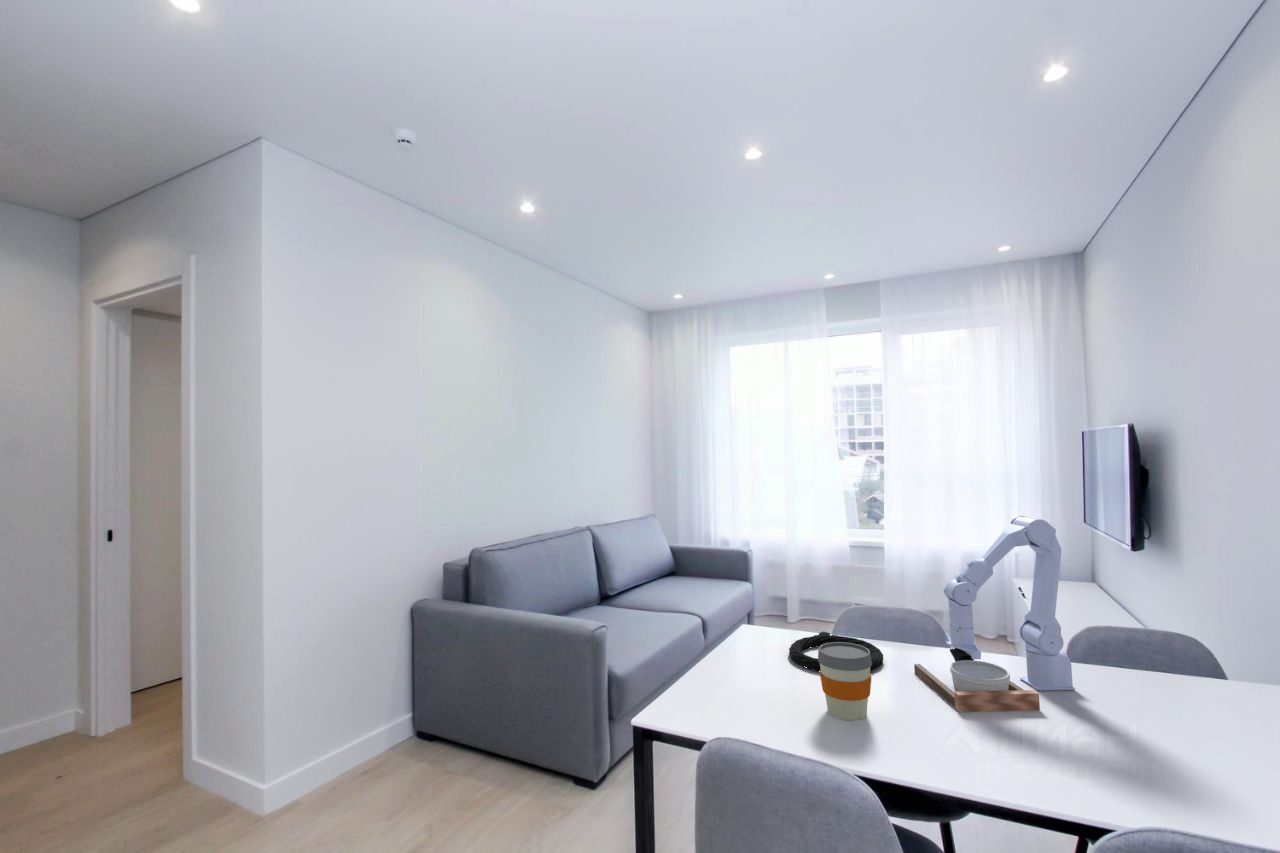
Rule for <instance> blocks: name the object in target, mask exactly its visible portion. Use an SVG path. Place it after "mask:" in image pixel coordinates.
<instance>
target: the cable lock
mask: <svg viewBox="0 0 1280 853" xmlns="http://www.w3.org/2000/svg"><path fill="white" fill-rule="evenodd" d="M831 642H846V643H853V644H858V645H861V646H864V647H866V648H867V649H869V650H870V655H871V661H872V665H871V667H870V673H871V672H874V671H875V670H877V669H878V668H879V667H881V666H882V665H883V661H884V654H883V652H882V651H881V650H880V648H878V647H877V646H875V645H873V644H872V643H870V642H868V641H866V640H862V639H859V638H856V637H851V636H850V637H849V636H841V635H837V634H835V635H834V634H831V633H830V632H827V631H825V630H824V631H821V632H818V634H815V635H813V636H807V637H803V638H800V639H797V640H795V641H793V643H792V644H790V646H789V648H788V650H789V652H788V656H790V659H792V661H793V662H794V663H795V662H796V663H795V664H797V665H799V666H801V667H803V666H805V667H807V668H810V669H809V670H811V669H813V670H812V671H814V670H817V671H816V672H818V671H820V669H821V668H820V663H819V661H818V657H817V658H816V657H812V656H809V655H807V654H805V653H803V652H804V651H806V650H809V649H808V648H810V647H814V648H817V647H816V646H821V645H823V644H826V643H831ZM805 649H806V650H805ZM810 649H811V648H810ZM803 650H804V651H803ZM807 668H806V669H807Z"/></svg>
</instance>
